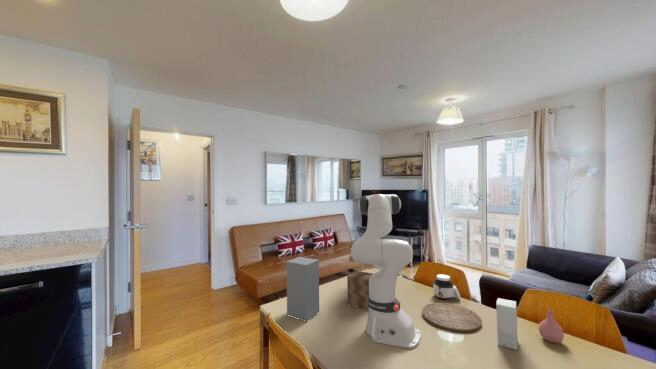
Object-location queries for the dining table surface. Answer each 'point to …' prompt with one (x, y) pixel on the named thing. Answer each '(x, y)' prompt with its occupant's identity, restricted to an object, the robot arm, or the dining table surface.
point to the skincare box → (507, 323)
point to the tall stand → (303, 288)
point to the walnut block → (358, 288)
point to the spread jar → (444, 288)
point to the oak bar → (351, 258)
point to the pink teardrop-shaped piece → (551, 329)
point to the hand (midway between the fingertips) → (366, 249)
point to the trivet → (451, 317)
